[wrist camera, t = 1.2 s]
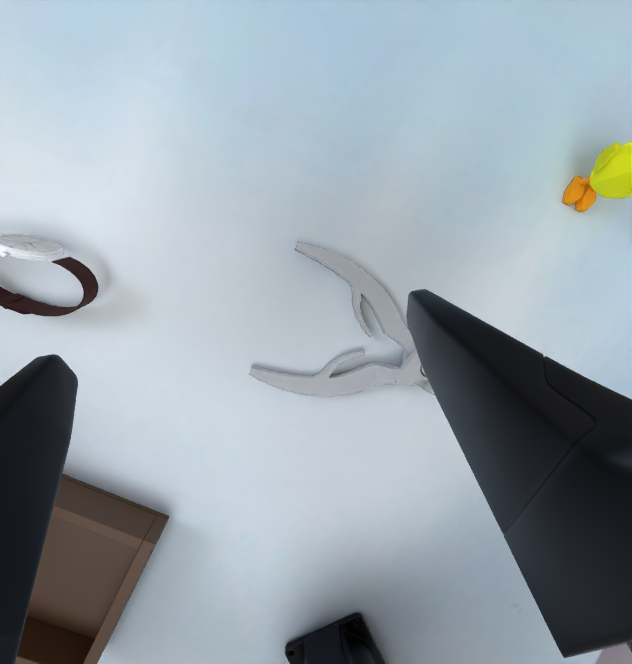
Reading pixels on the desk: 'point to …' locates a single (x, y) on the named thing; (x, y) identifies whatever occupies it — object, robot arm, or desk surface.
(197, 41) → the desk surface
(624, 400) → the robot arm
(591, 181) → the toy figure
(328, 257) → the pliers
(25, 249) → the watch
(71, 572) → the tray
